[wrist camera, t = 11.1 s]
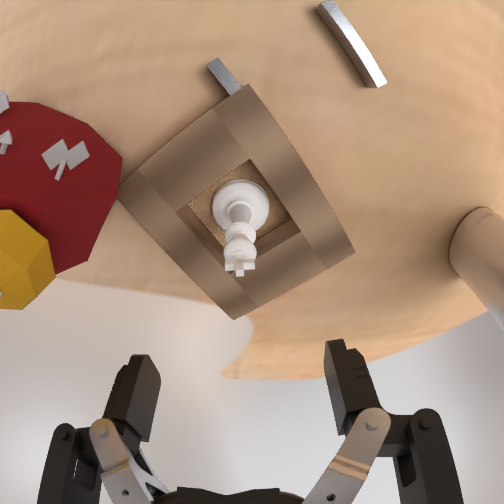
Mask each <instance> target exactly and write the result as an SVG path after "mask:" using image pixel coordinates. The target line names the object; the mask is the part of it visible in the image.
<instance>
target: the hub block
mask: <svg viewBox="0 0 504 504" xmlns="http://www.w3.org/2000/svg"><path fill="white" fill-rule="evenodd" d="M249 159H251V161H252V162H253V163H254V165H255V166H256V167H257V169H258V170H259V172H260V173H261V174H262V176H263V177H264V178H265V180H266V181H267V183H268V184H269V185H270V187H271V188H272V190H273V191H274V193H275V194H276V195H277V197H278V198H279V200H280V201H281V203H282V204H283V205H284V207H285V208H286V210H287V211H288V213H289V214H290V216H291V217H292V218H291V219H290V220H288V221H286V222H285V223H283V224H282V225H280V226H278V227H277V228H275V229H274V230H272V231H270V232H269V233H267V234H265V235H264V236H262V237H261V238H259V239H257V240H256V241H255V242H254V243H253V244H254V246H255V248H256V252H257V255H256V259H255V260H254V261H255V269H249V270H244V276H239V277H236V270H233V271H225V258H224V248H223V246H222V245H221V244H220V243H219V242H218V241H217V239H216V238H215V237H214V236H213V235H212V234H211V232H210V231H209V230H208V229H207V228H206V227H205V225H204V224H203V223H202V222H201V221H200V220H199V218H198V217H197V216H196V215H195V214H194V212H193V211H192V210H191V209H190V208H189V207H188V205H187V203H188V202H190V201H191V200H192V199H194V198H195V197H196V196H198V195H199V194H200V193H202V192H203V191H205V190H206V189H207V188H209V187H210V186H211V185H213V184H214V183H216V182H217V181H218V180H220V179H221V178H223V177H224V176H225V175H227V174H228V173H230V172H231V171H233V170H234V169H236V168H237V167H238V166H240V165H241V164H243V163H244V162H246V161H247V160H249ZM117 199H118V200H119V201H120V202H121V203H122V204H123V205H124V207H125V208H126V209H127V210H128V211H129V212H130V213H131V215H132V216H133V217H134V218H135V219H136V220H137V221H138V222H139V224H140V225H141V226H142V227H143V228H144V229H145V230H146V231H147V232H148V234H149V235H150V236H151V237H152V238H153V239H154V240H155V241H156V242H157V243H158V244H159V245H160V247H161V248H162V249H163V250H164V251H165V252H166V253H167V254H168V255H169V256H170V257H171V258H172V259H173V260H174V261H175V262H176V264H177V265H178V266H179V267H180V268H181V269H182V270H183V271H184V272H185V273H186V274H187V275H188V276H189V277H190V278H191V279H192V280H193V281H194V282H195V283H196V284H197V285H198V286H199V287H200V288H201V289H202V290H203V291H204V292H205V293H206V294H207V295H208V296H209V297H210V298H211V299H212V300H213V301H214V302H215V303H216V304H217V305H218V306H219V307H220V308H221V309H222V310H223V311H224V312H225V313H226V314H227V315H228V316H229V317H230V318H232V319H233V320H235V319H237V318H238V317H241V316H243V315H245V314H247V313H249V312H250V311H252V310H254V309H256V308H258V307H260V306H262V305H264V304H265V303H267V302H269V301H271V300H273V299H275V298H276V297H278V296H280V295H282V294H284V293H286V292H287V291H289V290H291V289H293V288H295V287H296V286H298V285H300V284H302V283H303V282H305V281H307V280H309V279H311V278H312V277H314V276H316V275H318V274H319V273H321V272H323V271H324V270H326V269H328V268H330V267H331V266H333V265H335V264H336V263H338V262H340V261H341V260H343V259H345V258H347V257H348V256H350V255H352V254H353V253H355V250H354V248H353V246H352V244H351V243H350V241H349V239H348V237H347V235H346V233H345V232H344V230H343V228H342V226H341V224H340V223H339V221H338V219H337V217H336V215H335V214H334V212H333V210H332V208H331V207H330V205H329V203H328V202H327V200H326V198H325V197H324V195H323V193H322V192H321V190H320V188H319V187H318V185H317V183H316V182H315V180H314V178H313V177H312V175H311V174H310V172H309V170H308V169H307V167H306V166H305V164H304V162H303V161H302V159H301V158H300V156H299V155H298V153H297V152H296V150H295V149H294V147H293V146H292V144H291V143H290V141H289V140H288V138H287V137H286V135H285V134H284V132H283V131H282V129H281V128H280V126H279V125H278V123H277V122H276V121H275V119H274V118H273V116H272V115H271V114H270V112H269V111H268V109H267V108H266V107H265V105H264V104H263V102H262V101H261V100H260V98H259V97H258V96H257V94H256V93H255V92H254V90H253V89H252V88H251V86H250V85H249V84H247V85H246V86H244V87H242V88H241V89H239V90H238V91H236V92H235V93H233V94H232V95H230V96H229V97H227V98H226V99H225V100H223V101H222V102H220V103H219V104H217V105H216V106H215V107H213V108H212V109H210V110H209V111H208V112H206V113H205V114H204V115H202V116H201V117H200V118H198V119H197V120H196V121H194V122H193V123H192V124H190V125H189V126H188V127H186V128H185V129H184V130H183V131H181V132H180V133H179V134H178V135H176V136H175V137H174V138H173V139H171V140H170V141H169V142H168V143H167V144H165V145H164V146H163V147H162V148H161V149H159V150H158V151H157V152H156V153H155V154H154V155H152V156H151V157H150V158H149V159H148V160H147V161H146V162H145V163H143V164H142V165H141V166H140V167H139V168H138V169H137V170H136V171H135V172H134V173H132V174H131V175H130V176H129V177H128V178H127V179H126V180H125V181H124V182H123V183H122V184H121V185H120V186H119V188H118V195H117Z"/></svg>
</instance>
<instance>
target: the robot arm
mask: <svg viewBox="0 0 504 504" xmlns="http://www.w3.org/2000/svg"><path fill="white" fill-rule="evenodd" d="M449 259H450V264H451V266H452V268H453V269H454V270H455V271H456V272H457V273H458V275H459V276H460V277H461V278H462V279H463V280H464V281H465V283H466V284H467V285H468V286H469V287H470V288H471V290H472V291H473V292H474V293H475V294H476V296H477V297H478V298H479V299H480V300H481V302H482V303H483V304H484V305H485V307H486V308H487V309H488V310H489V312H490V313H491V314H492V315H493V317H494V318H495V319H496V321H497V322H498V323H499V324H500V326H501V327H502V329H503V330H504V219H503V218H502V217H501V216H499V215H498V214H496V213H495V212H494V211H492V210H491V209H489V208H486V207H481V208H478V209H475V210H474V211H472V212H471V213H470V214H468V215H467V216H466V217H465V218H464V220H463V221H462V222H461V223H460V225H459V227H458V228H457V230H456V232H455V234H454V236H453V239H452V242H451V245H450V251H449ZM324 372H325V377H326V381H327V385H328V389H329V394H330V399H331V403H332V408H333V412H334V417H335V421H336V426H337V431H338V435H344V434H345V437H346V439H345V441H344V442H343V444H342V446H341V448H340V449H339V451H338V453H337V454H336V456H335V457H334V459H333V460H332V461H331V462H330V464H329V465H328V467H327V469H326V470H325V472H324V473H323V475H322V476H321V477H320V479H319V480H318V482H317V483H316V485H315V486H314V488H313V489H312V491H311V492H310V493H309V495H308V496H307V497H306V499H304V498H302V497H300V496H297V495H295V494H292V493H287V492H281V491H280V489H279V488H272V489H253V490H249V491H245V492H241V493H236V494H232V495H222V494H218V493H214V492H211V491H207V490H204V489H198V488H186V487H177V491H174V492H169V490H168V489H167V488H166V486H165V485H164V484H163V483H162V482H161V481H160V480H159V479H158V477H157V476H156V474H155V473H154V471H153V469H152V468H151V466H150V464H149V463H148V461H147V459H146V457H145V456H144V454H143V452H142V450H141V449H140V447H139V445H140V441H142V442H149V437H150V432H151V427H152V422H153V418H154V413H155V408H156V404H157V399H158V395H159V390H160V385H161V378H160V374H159V372H158V370H157V369H156V367H155V365H154V363H153V362H152V360H151V358H150V356H149V355H137V354H134V355H132V356H131V358H130V361H129V364H128V365H124V366H123V367H122V368H121V369H120V371H119V372H118V373H117V376H116V379H115V384H113V387H112V391H111V393H110V396H109V399H108V402H107V405H106V408H105V411H104V414H103V417H102V419H98V420H96V421H95V422H94V423H93V424H92V425H91V427H86V428H78V429H75V428H74V427H73V426H72V425H70V424H68V423H63V424H60V425H59V426H58V427H57V428H56V429H55V431H54V433H53V437H52V441H51V444H50V447H49V451H48V455H47V458H46V463H45V467H44V471H43V475H42V480H41V484H40V489H39V494H38V500H37V504H99V498H100V490H101V484H102V481H103V484H104V486H105V488H106V490H107V492H108V494H109V496H110V498H111V500H112V502H113V504H351V503H352V502H353V500H354V498H355V497H356V495H357V493H358V492H359V490H360V488H361V487H362V485H363V483H364V481H365V480H366V478H367V476H368V473H369V470H370V467H371V466H372V463H373V462H374V460H375V458H376V457H393V462H394V467H395V472H396V478H397V484H398V490H399V496H400V502H401V504H464V503H463V498H462V493H461V488H460V483H459V480H458V475H457V471H456V467H455V464H454V460H453V456H452V453H451V449H450V446H449V442H448V439H447V436H446V432H445V429H444V426H443V423H442V420H441V418H440V415H439V414H438V413H437V412H436V411H434V410H432V409H428V408H425V409H421V410H418V411H417V412H416V413H415V414H414V415H393V414H390V413H388V412H387V411H385V410H384V409H383V408H382V406H381V405H380V403H379V400H378V397H377V394H376V391H375V388H374V385H373V382H372V379H371V377H370V375H369V371H368V368H367V365H366V363H365V360H364V357H363V356H362V355H361V354H360V352H359V351H358V350H357V349H356V348H354V349H349V350H347V348H346V345H345V342H344V340H343V339H337V340H331V341H326V343H325V355H324ZM77 460H78V461H77ZM76 462H77V466H76ZM75 467H76V470H75ZM74 472H75V475H74Z"/></svg>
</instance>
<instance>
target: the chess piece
mask: <svg viewBox="0 0 504 504" xmlns="http://www.w3.org/2000/svg"><path fill="white" fill-rule="evenodd" d="M269 208H270V203H269V198H268V196H267V194H266V192H265V191H264V189H263V188H262V187H261V186H260V185H258V184H257V183H255V182H253V181H250V180H246V179H236V180H231V181H229V182H227V183H225V184H223V185H222V186H221V187H220V188H219V189H218V190H217V192H216V193H215V195H214V197H213V201H212V211H213V216H214V218H215V220H216V222H217V223H218V225H219V226H220V227H221V228H223V229H224V230H226V231H225V240H226V242H227V245H226V246H225V248H224V258H225V271H233V270H236V277H239V276H244V270H249V269H255V261H254V260H255V259H256V255H257V252H256V248H255V246H254V244H253V243H254V242H255V239H256V232H255V231H256V230H258V229H259V228H260V227H261V226H262V225H263V224H264V223H265V221H266V219H267V217H268V214H269Z"/></svg>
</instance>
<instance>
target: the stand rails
mask: <svg viewBox="0 0 504 504" xmlns="http://www.w3.org/2000/svg"><path fill="white" fill-rule="evenodd" d="M315 11H316V12H317V13H318V15H319V16H320V17H321V19H322V20H323V21H324V22H325V24H326V25H327V26H328V28H329V29H330V30H331V32H332V33H333V35H334V36H335V37H336V39H337V40H338V42H339V43H340V45H341V46H342V47H343V49H344V50H345V52H346V53H347V55H348V56H349V58H350V60H351V61H352V63H353V64H354V66H355V67H356V69H357V71H358V72H359V74H360V76H361V77H362V79H363V81H364V82H365V84H366V86H367V88H378V87H380V86H382V85H384V84H386V83H387V82H386V80H385V78H384V76H383V74H382V73H381V71H380V69H379V67H378V66H377V64H376V62H375V61H374V59H373V57H372V56H371V54H370V52H369V51H368V49H367V48H366V46H365V44H364V43H363V41H362V40H361V38H360V37H359V35H358V34H357V32H356V31H355V30H354V28H353V27H352V25H351V24H350V23H349V21H348V20H347V18H346V17H345V16H344V14H343V13H342V12H341V10H340V9H339V8H338V7H337V5H336V4H335V3H334V1H333V0H327V1H324V2H322V3H320V4H319V5H318V7H317V8H316V9H315ZM206 66H207V67H208V68H209V70H210V71H211V72H212V73H213V74H214V76H215V77H216V78H217V79H218V81H219V82H220V83H221V84H222V86H223V87H224V88H225V89H226V91H227V92H228V93H229V95H232V94H233V93H235V92H236V91H238V90H239V89H241V88H242V87H241V86H240V85H239V83H238V82H237V81H236V80H235V78H234V77H233V76H232V75H231V73H230V72H229V71H228V69H227V68H226V67H225V66H224V65H223V63H222V62H221V61H220V60H219V58H216V59H215V60H213V61H212V62H210V63H209V64H207V65H206Z"/></svg>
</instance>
